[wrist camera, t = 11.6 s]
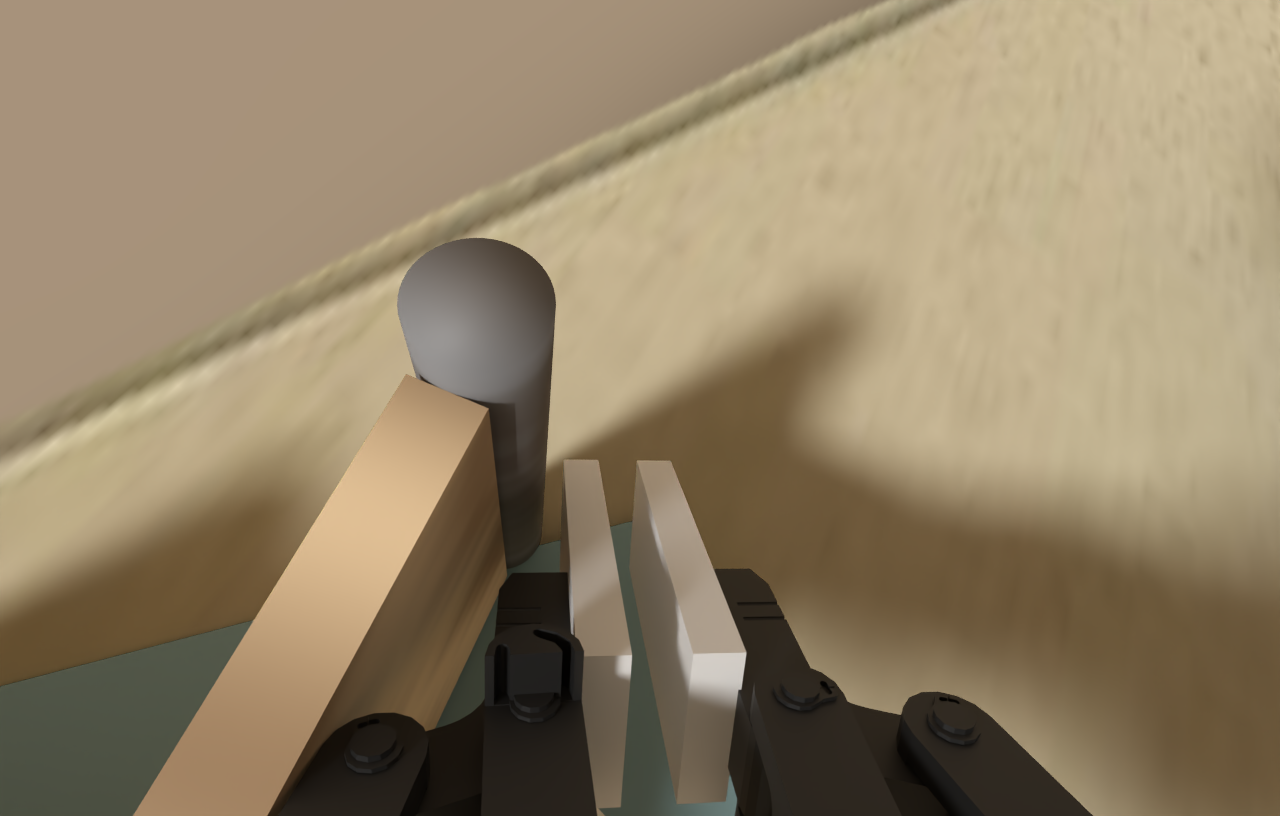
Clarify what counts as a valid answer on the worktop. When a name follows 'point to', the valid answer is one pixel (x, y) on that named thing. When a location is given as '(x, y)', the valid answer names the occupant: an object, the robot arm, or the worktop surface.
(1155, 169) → the worktop surface
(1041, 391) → the worktop surface
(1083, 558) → the worktop surface
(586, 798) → the robot arm
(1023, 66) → the worktop surface
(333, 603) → the swing panel
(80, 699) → the card
